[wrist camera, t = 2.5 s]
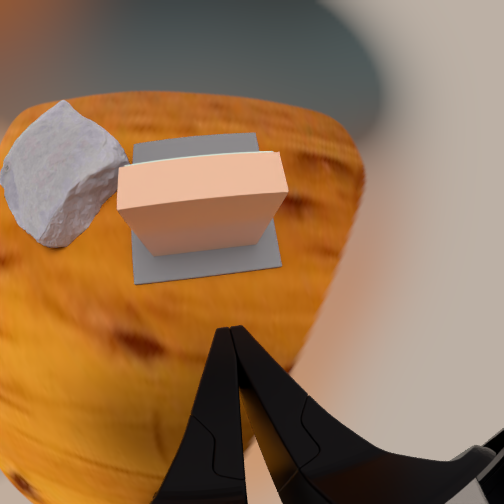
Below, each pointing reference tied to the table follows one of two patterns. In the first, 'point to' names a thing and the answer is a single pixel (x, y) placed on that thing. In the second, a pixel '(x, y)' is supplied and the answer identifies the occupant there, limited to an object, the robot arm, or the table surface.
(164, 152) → the mat
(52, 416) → the table surface
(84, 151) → the stone block
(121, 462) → the table surface
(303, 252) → the table surface
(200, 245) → the tile
